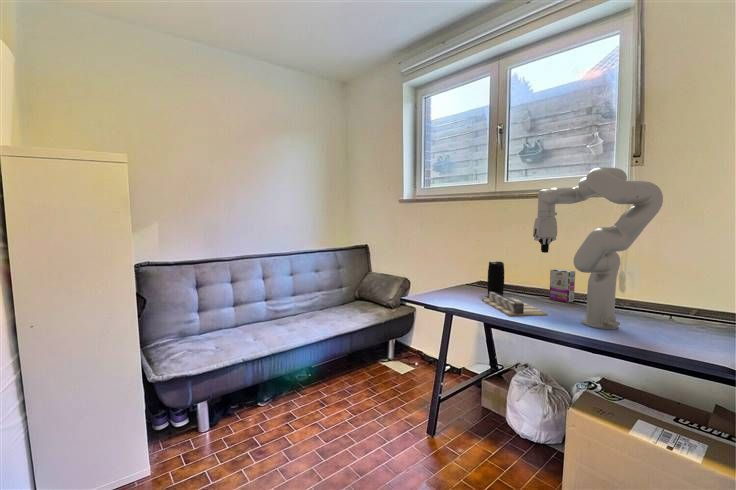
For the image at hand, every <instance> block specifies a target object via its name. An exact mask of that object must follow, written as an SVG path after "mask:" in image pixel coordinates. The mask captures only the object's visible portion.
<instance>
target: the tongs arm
mask: <svg viewBox="0 0 736 490" xmlns="http://www.w3.org/2000/svg"><path fill="white" fill-rule="evenodd" d="M493 293H495V294H498V295H500V296H502V297H504V298H506V299H508V300H510V301H512V302H514V303H518V302H516V301H514V300H512V299H510V298H511V297H508V296H505V295H504V294H503V295H501V294H499V293H497V292H493Z"/></svg>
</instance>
